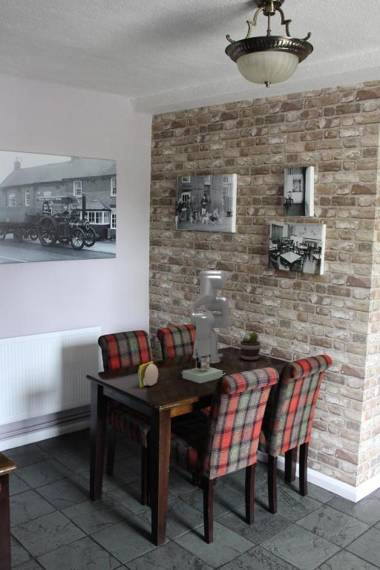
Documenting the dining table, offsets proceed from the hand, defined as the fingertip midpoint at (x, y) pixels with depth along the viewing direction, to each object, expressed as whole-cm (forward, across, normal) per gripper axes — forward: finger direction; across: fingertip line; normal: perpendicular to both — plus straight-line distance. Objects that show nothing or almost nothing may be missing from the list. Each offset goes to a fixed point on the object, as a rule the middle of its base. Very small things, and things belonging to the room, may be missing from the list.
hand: (202, 366), depth 328 cm
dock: (+6, 0, 0) cm, 6 cm away
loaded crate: (+1, 0, 0) cm, 1 cm away
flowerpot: (+7, -53, -10) cm, 54 cm away
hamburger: (+7, +32, -10) cm, 34 cm away
